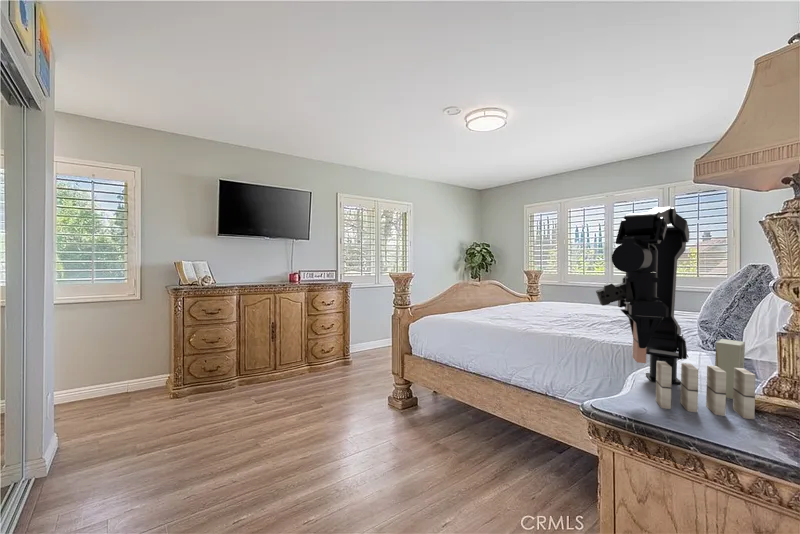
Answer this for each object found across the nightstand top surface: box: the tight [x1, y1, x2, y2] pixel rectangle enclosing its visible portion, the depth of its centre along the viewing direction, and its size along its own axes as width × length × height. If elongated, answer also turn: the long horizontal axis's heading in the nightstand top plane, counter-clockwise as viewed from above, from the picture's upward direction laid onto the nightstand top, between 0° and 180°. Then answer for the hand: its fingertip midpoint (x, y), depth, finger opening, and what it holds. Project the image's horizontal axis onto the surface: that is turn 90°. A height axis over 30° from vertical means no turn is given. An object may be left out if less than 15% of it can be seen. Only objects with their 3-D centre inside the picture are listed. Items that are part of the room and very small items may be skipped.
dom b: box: [655, 361, 672, 410], centre depth 84 cm, size 5×2×8 cm, turn 159°
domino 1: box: [632, 322, 647, 364], centre depth 85 cm, size 5×2×8 cm, turn 159°
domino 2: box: [680, 362, 699, 413], centre depth 82 cm, size 5×2×8 cm, turn 159°
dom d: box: [705, 364, 727, 417], centre depth 80 cm, size 5×2×8 cm, turn 159°
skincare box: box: [714, 338, 746, 400], centre depth 90 cm, size 6×4×12 cm
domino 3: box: [732, 367, 756, 420], centre depth 79 cm, size 5×2×8 cm, turn 159°
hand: (639, 345), depth 85 cm, fingers closed on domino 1, 5 cm apart
